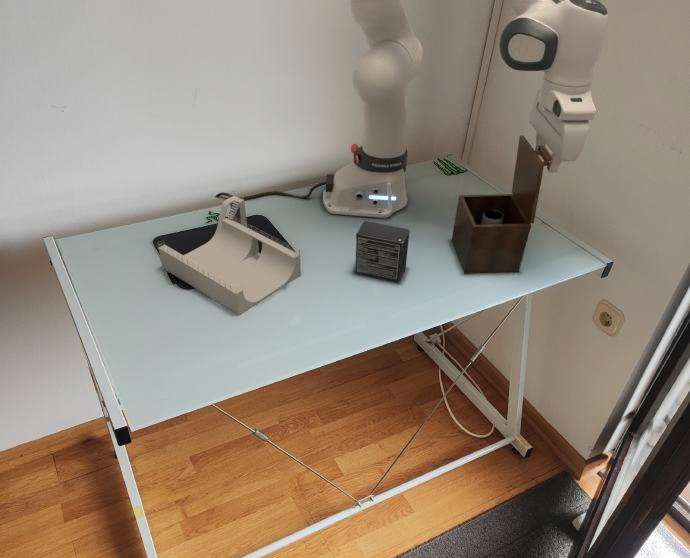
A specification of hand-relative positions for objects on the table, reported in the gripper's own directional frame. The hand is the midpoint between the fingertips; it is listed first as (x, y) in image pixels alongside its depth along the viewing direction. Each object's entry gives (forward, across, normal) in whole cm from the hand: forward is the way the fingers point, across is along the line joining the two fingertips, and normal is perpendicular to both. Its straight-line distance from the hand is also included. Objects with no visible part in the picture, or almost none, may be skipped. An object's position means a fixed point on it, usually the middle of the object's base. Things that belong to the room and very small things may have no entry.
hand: (545, 162), depth 121 cm
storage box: (+23, 0, -9) cm, 25 cm away
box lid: (+4, 0, -4) cm, 5 cm away
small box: (+23, +4, -34) cm, 41 cm away
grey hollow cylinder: (+22, 0, -9) cm, 24 cm away
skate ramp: (+23, +2, -66) cm, 70 cm away
